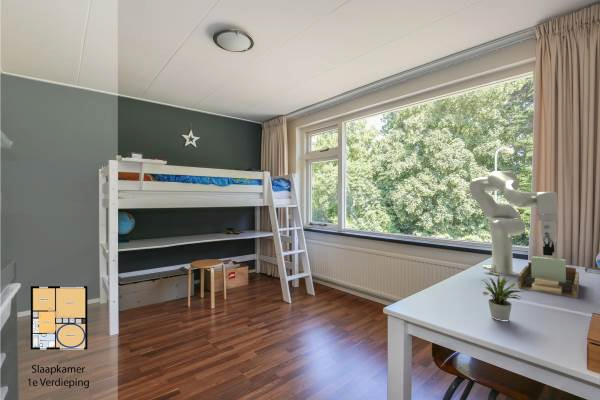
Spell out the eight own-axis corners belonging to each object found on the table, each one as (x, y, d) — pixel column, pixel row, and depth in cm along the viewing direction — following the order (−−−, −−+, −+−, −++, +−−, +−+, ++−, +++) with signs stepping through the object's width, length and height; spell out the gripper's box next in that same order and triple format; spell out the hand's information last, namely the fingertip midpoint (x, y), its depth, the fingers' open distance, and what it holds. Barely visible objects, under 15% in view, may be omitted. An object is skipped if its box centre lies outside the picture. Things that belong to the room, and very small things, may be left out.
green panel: (565, 291, 127) (565, 260, 126) (531, 285, 135) (531, 257, 135) (566, 289, 129) (565, 259, 128) (532, 284, 137) (532, 256, 137)
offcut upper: (558, 288, 123) (558, 283, 123) (534, 284, 129) (534, 279, 129) (559, 286, 126) (558, 280, 126) (536, 282, 132) (536, 277, 132)
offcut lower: (561, 295, 122) (561, 289, 122) (531, 290, 129) (531, 284, 129) (562, 291, 126) (562, 286, 126) (533, 287, 133) (533, 281, 133)
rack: (577, 300, 118) (577, 279, 118) (518, 290, 132) (517, 271, 132) (579, 286, 135) (578, 268, 135) (526, 278, 150) (526, 261, 149)
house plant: (491, 328, 96) (490, 281, 95) (467, 312, 109) (466, 271, 109) (532, 327, 96) (531, 280, 95) (503, 311, 110) (502, 270, 109)
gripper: (556, 219, 123) (558, 257, 123) (559, 216, 135) (561, 252, 134) (534, 218, 128) (536, 255, 128) (539, 216, 140) (540, 250, 140)
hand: (549, 253), depth 131 cm, fingers open, 9 cm apart
